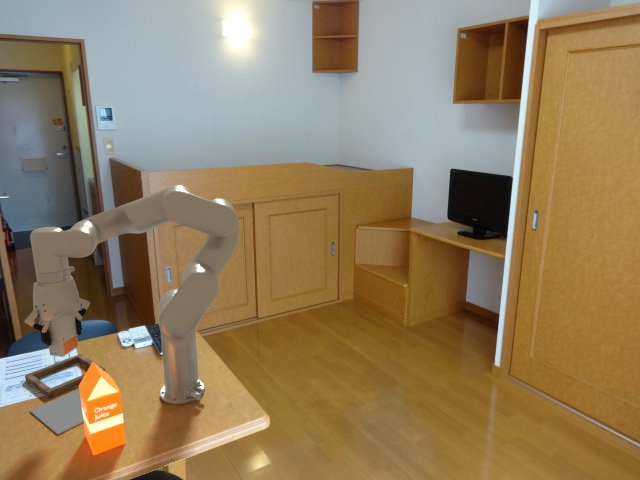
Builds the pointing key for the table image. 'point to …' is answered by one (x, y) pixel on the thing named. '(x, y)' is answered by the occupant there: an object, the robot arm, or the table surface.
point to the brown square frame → (43, 388)
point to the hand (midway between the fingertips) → (62, 338)
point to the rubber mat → (61, 412)
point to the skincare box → (62, 335)
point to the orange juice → (101, 410)
